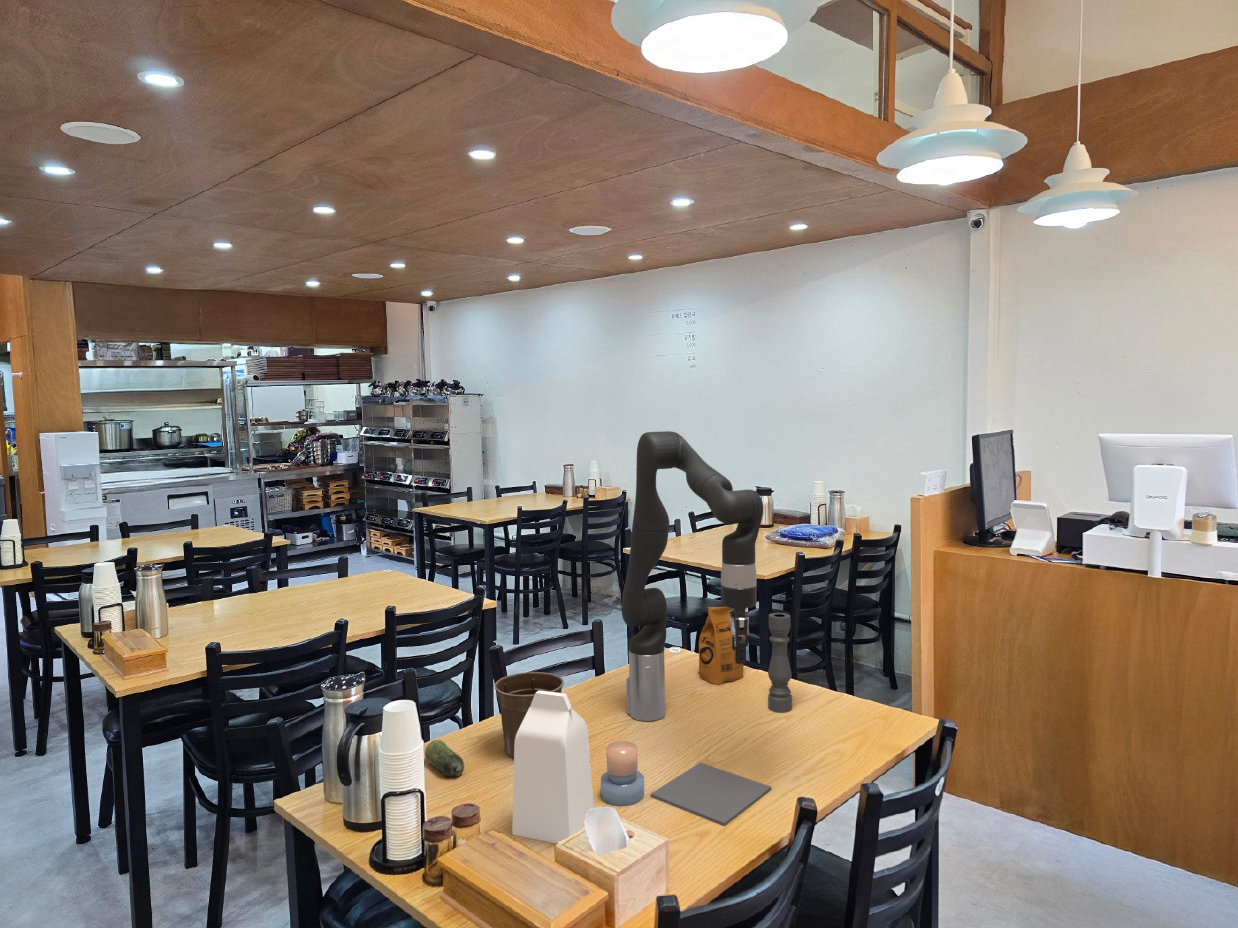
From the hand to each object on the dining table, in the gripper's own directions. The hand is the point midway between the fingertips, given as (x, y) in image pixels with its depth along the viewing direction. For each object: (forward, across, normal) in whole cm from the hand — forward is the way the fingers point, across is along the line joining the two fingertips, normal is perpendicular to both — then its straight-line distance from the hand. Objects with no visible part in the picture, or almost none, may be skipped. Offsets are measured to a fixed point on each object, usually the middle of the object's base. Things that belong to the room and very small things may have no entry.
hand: (738, 656), depth 166 cm
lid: (+21, +10, -25) cm, 34 cm away
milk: (+26, +22, -38) cm, 51 cm away
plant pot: (+27, -11, -48) cm, 56 cm away
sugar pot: (+26, +10, -25) cm, 37 cm away
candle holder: (+26, -37, +14) cm, 48 cm away
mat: (+26, +9, -6) cm, 28 cm away
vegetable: (+27, 0, -66) cm, 71 cm away
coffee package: (+27, -60, 0) cm, 66 cm away
